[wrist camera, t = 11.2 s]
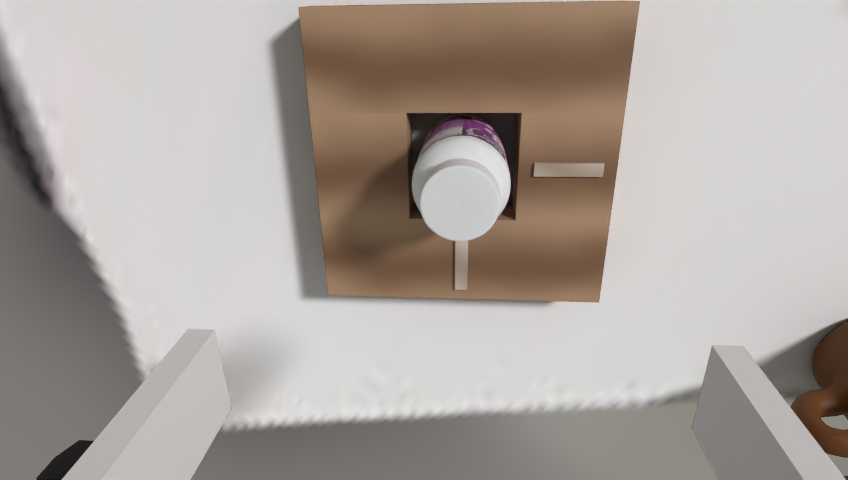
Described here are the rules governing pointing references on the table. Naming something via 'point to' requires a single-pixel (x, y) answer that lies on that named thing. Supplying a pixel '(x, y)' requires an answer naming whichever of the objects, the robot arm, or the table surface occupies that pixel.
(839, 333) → the mug
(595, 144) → the board
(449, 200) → the pill bottle
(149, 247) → the table surface
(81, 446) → the robot arm
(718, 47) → the table surface
